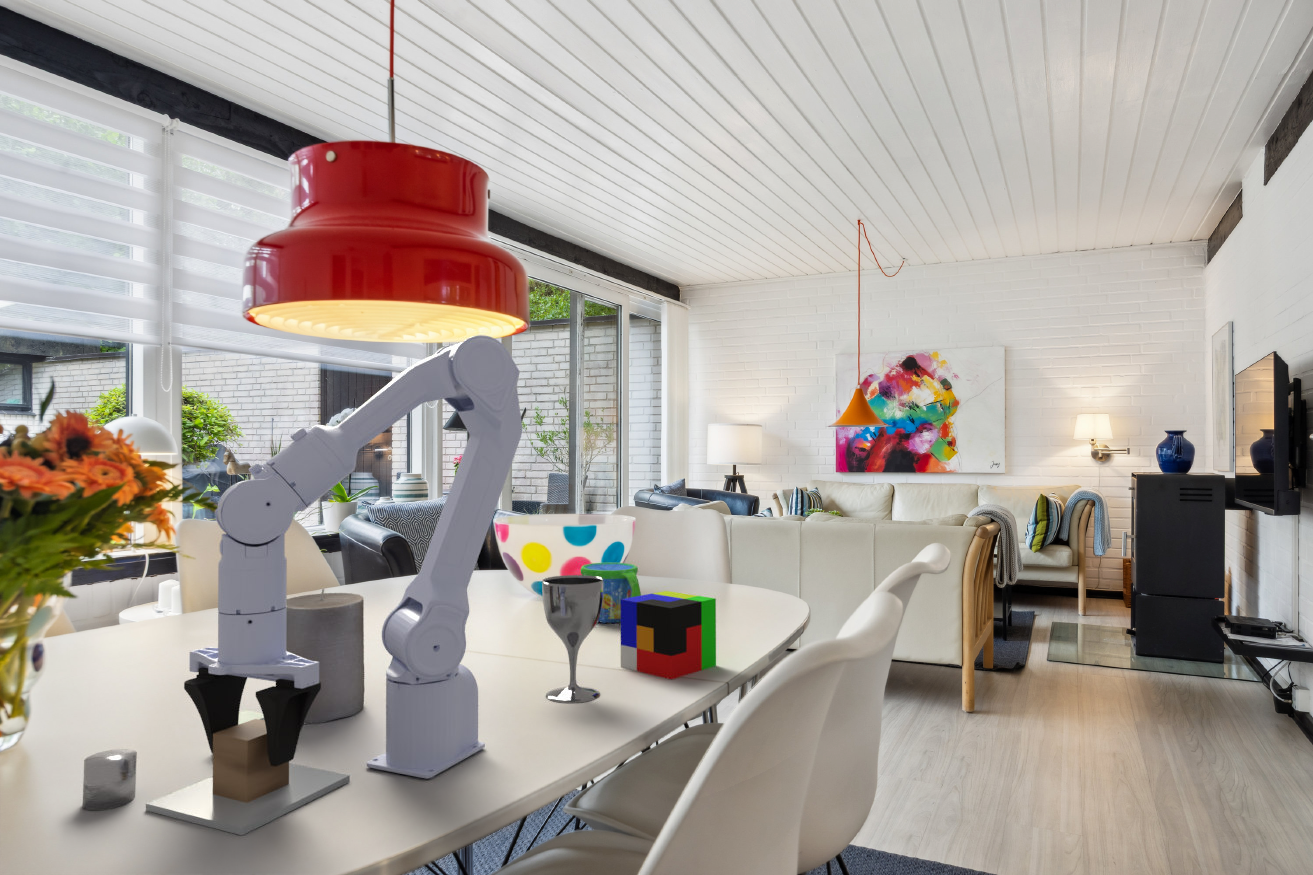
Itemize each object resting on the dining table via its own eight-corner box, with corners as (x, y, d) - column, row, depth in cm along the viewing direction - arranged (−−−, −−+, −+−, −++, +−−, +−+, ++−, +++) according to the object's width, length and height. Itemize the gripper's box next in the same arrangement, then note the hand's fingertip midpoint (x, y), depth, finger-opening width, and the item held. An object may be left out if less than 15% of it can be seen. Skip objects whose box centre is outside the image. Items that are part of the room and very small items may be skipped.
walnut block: (255, 776, 78) (255, 718, 78) (288, 783, 76) (289, 725, 77) (212, 793, 74) (213, 733, 74) (247, 802, 72) (247, 740, 72)
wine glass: (535, 690, 108) (535, 577, 109) (592, 683, 112) (591, 573, 112) (551, 707, 101) (551, 586, 101) (612, 699, 104) (611, 582, 105)
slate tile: (260, 762, 83) (259, 756, 83) (349, 781, 79) (349, 775, 79) (145, 810, 72) (145, 803, 72) (242, 835, 68) (242, 827, 68)
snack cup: (656, 623, 150) (656, 568, 151) (609, 630, 144) (609, 573, 144) (609, 610, 163) (609, 559, 163) (563, 616, 157) (563, 563, 157)
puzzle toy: (620, 667, 120) (620, 599, 120) (666, 654, 128) (665, 590, 128) (671, 679, 113) (670, 608, 114) (716, 666, 121) (715, 598, 121)
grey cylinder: (121, 788, 77) (123, 745, 77) (143, 798, 75) (145, 754, 75) (74, 803, 74) (75, 758, 74) (95, 814, 72) (97, 768, 72)
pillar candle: (302, 698, 105) (301, 582, 105) (376, 698, 105) (376, 582, 105) (263, 725, 95) (262, 596, 95) (345, 725, 95) (344, 596, 95)
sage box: (245, 741, 90) (245, 710, 90) (271, 747, 88) (271, 714, 88) (212, 754, 86) (212, 720, 86) (239, 759, 84) (239, 725, 85)
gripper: (159, 610, 75) (158, 759, 75) (274, 623, 69) (273, 784, 69) (226, 598, 81) (226, 734, 81) (337, 608, 76) (336, 755, 75)
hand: (252, 755), depth 75 cm, fingers open, 7 cm apart
